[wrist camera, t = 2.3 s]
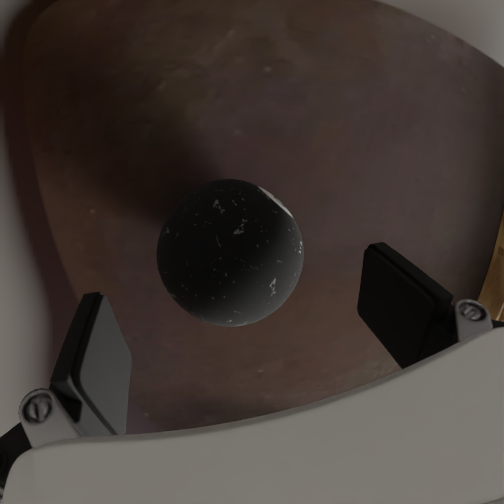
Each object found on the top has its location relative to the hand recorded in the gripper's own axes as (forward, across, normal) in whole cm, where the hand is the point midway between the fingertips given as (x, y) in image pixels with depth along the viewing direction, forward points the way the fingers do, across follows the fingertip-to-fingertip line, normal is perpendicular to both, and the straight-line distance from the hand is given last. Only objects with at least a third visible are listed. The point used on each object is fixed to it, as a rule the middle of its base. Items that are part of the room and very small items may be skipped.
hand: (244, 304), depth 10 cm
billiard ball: (+6, 0, -1) cm, 6 cm away
